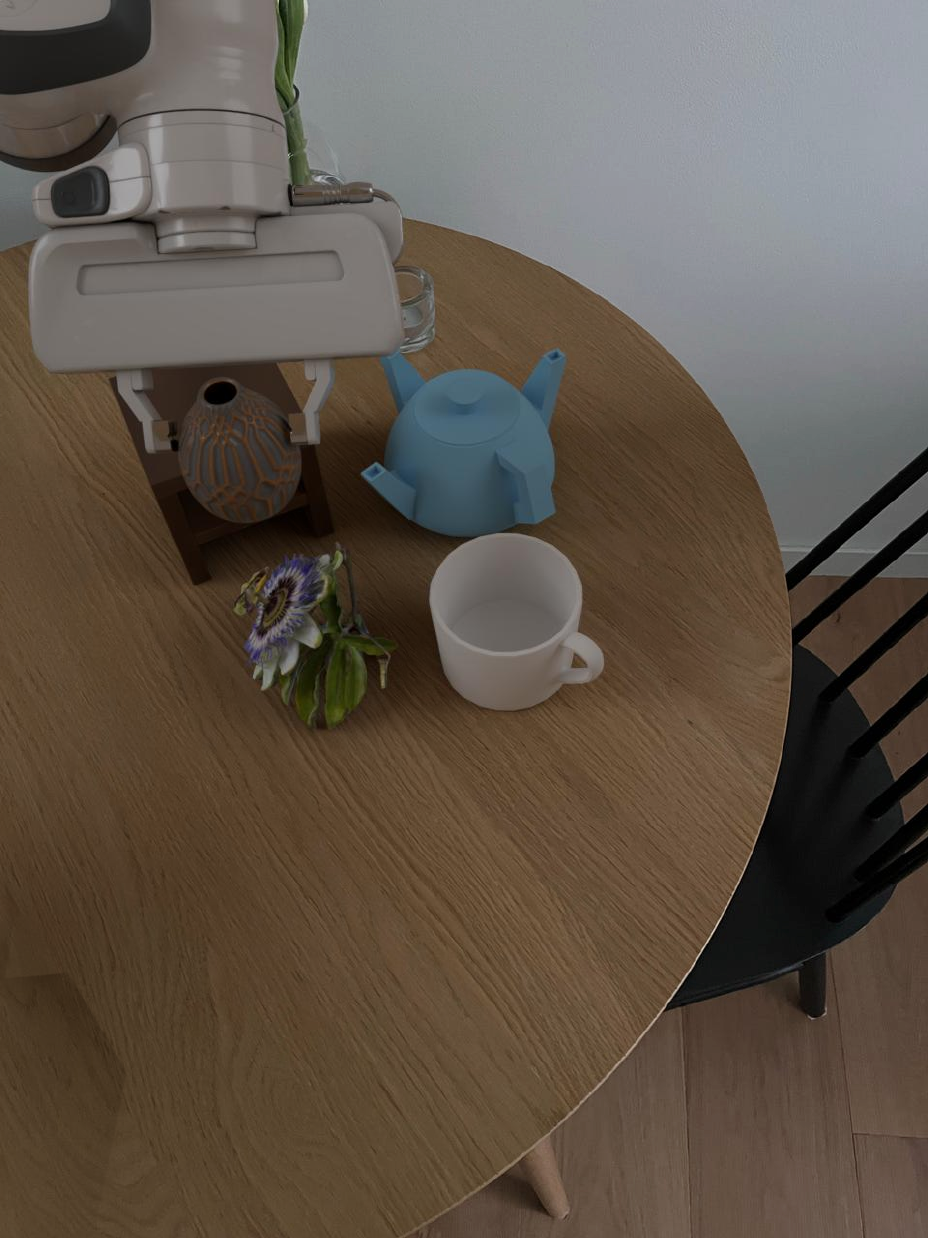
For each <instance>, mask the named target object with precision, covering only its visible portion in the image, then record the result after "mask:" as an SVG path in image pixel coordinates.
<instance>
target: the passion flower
mask: <svg viewBox="0 0 928 1238" xmlns="http://www.w3.org/2000/svg"><path fill="white" fill-rule="evenodd" d="M334 545H335V553H334V555H333V554H332V553H331V552H323V553H321V554H319V555H317V556H316V557H314V558H313V557H309V558H308V557H306V556H305V554H304V553H300V554H298V557H297V553H293V556H292V559H289V557H288V556H285V557H284V558H285V562H283V563H279V564H278V565H277V566H276V567H275V568H273V570H272V571H271V570H270V567H269V566H265V567H264V568H262V569H261V570H259V571H256V572H255V573H253V574H252V577H251V578H250V579H249V581H248V582H245V583H243V584H242V585H241V588H240V589H241V590H240V595H239V596H238V597H237V598H236V599H235V601H234V604H233V611H234V612H235V614H237V615H238V616H241V617H243V616H246V615H248V614H253V612H254V610H255V608H256V609H257V610H256V611H257V617H256V618H255V622H254V623H253V624H252V628H251V630H250V631H249V634H250V635H249V637H248V638H247V640H246V642H245V643H244V645H243V649H244V650H245V651H246V652H248V653H249V658H248V660H246V662H245V664H244V666H245V667H246V666H247V665H248V664H249V665H255V664H256V665H255V667H254V671H253V675H252V679H253V680H255V681H262V685H261V687H260V691H261V692H266V691H268V690H270V689H272V688H274V687H276V685H278V684H279V685H280V698H281V699H282V701H283V704H284V705H286V706H289V705H290V703H289V702H290V698H291V697H290V696H291V692H292V689H293V688H294V683H295V681H296V687H295V694H294V700H295V704H296V712H297V714H298V716H299V718H300V719H301V721H302V722H304V723H306V724H307V726H309V727H310V728H311V729H313V730H316V729H317V727H318V726H317V719H318V717H319V713H320V710H321V706H322V705H321V694H322V678H323V675H324V673H325V670H326V675H325V681H324V687H325V689H324V691H325V693H324V694H325V701H326V702H325V703H324V705H323V711H324V716H325V721H326V728H327V729H328V731H332V730H333V729H334V728H335V727H337V726H339V724H341V723H343V722H344V721H345V719H346V718H347V716H349V715H350V714H351V713H352V712H353V711H354V710H355V709H356V708H357V707H358V705H359V704H360V703H361V701H362V700H363V699H364V696H365V694H366V690H367V685H368V679H369V678H368V677H369V676H368V670H367V665H366V662H365V658H364V655H363V652H364V653H365V654H366V655H369V656H374V657H375V658H377V657H379V656H382V655H383V656H384V655H387V659H383V658H382V659H381V658H380V659H378V660H377V662H378V664H379V673H380V674H379V682H380V688H381V689H382V690H383V689H386V688H387V685H388V677H387V676H388V665H389V663H390V659H391V654H390V653H391V652H393V651H394V650H396V649H397V648H398V646H399V645H398V643H397V642H396V641H394V640H392V639H389V638H386V637H383V636H380V635H374V634H371V633H370V631H369V630H368V628H367V626H366V623H365V621H364V619H363V616H362V613H361V611H360V610H359V607H358V602H357V601H358V600H357V595H356V589H355V583H354V577H353V567H352V565H353V564H352V560H351V556H350V550H349V549H347V548H345V547H343V545H341V544H340V542H338V541H335V542H334ZM341 565H343V566H344V567H345V570H346V574H347V582H348V587H349V595H350V600H351V601H350V602H351V611H350V614H349V617H348V620H347V623H342V618H343V614H344V613H343V612H344V607H343V605H341V604H340V602H339V593H340V585H339V583H338V578H337V576H336V575H335V571H337V570H338V569H339V568H340V566H341ZM270 571H271V575H270ZM269 575H270V576H271V577H270V579H268V580H267V582H266V579H267V578H268V576H269ZM265 582H266V583H265ZM262 589H263V591H262ZM261 591H262V593H261ZM318 606H319V608H320V609H321V611H322V613H323V615H324V618H325V621H324V622H318V621H317V620H316V619H315V617H314V616H313V614H314V612H315V610H316V609H317V608H318ZM352 632H356V634H350V633H352ZM325 636H327V638H326V639H325V640H324V637H325ZM318 648H319V649H318ZM310 649H313V650H316V649H318V650H317V651H314V652H313V653H312V654H311V655H310V656H309V657H308V658H307V659H306V660H305V662H303V660H304V659H305V656H306V654H307V653H308V652H309V651H310ZM302 662H303V664H302ZM301 664H302V665H301ZM300 666H301V667H300ZM299 667H300V668H299Z"/></svg>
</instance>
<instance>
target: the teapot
mask: <svg viewBox="0 0 928 1238" xmlns="http://www.w3.org/2000/svg"><path fill="white" fill-rule="evenodd" d="M567 357H568V356H567V355H566V354H565V353H564V352H563V351H562V350H561V349H559V348H558V347H556V348H554V349H552V350H550V351H548V352H546V353H544V354H543V355H541V359H540V361H539V362H538V363H537V365H536V367H535V368H534V369H533V371H532V373H531V374H530V375H529V377H528V378H527V380H526V381H525V383H524V384H523V386H522V388H521V389H520V390H518V389H517V388H516V387H515V386H514V385H513V384H512V383H510V382H509V381H507V380H506V379H504V378H502V376H499V375H498V374H495V373H492V372H490V371H487V370H482V369H473V368H464V369H463V368H462V369H455V370H451V371H447V372H444V373H441V374H439V375H437V376H435V377H432V378H431V379H430V380H428V381H426V380H425V379H424V378H423V377H422V376H421V374H420V373H419V372H418V371H417V370H416V369H415V368H414V366H413V365H412V364H411V363H410V362H409V361H408V360H407V358H405V356H404V355H403V354H402V351H401V350H400V349H399V350H398V351H397V352H396V353H395V355H393V356H389V357H379V360H380V363H381V365H382V369H383V372H384V375H385V378H386V381H387V383H388V387H389V389H390V393H391V395H392V399H393V402H394V404H395V407H396V411H397V414H398V415H397V417H396V418H395V420H394V422H393V424H392V426H391V428H390V432H389V434H388V438H387V441H386V445H385V451H384V457H383V466H382V465H381V464H380V463H378V462H377V461H375V462H374V463H373V464H371V465H370V466H369V467H367V468H365V469H364V470H363V471H362V472H360V476H362V478H363V479H364V480H365V481H366V482H367V483H368V484H369V485H370V486H371V487H372V488H373V489H374V490H376V492H377V494H379V495H380V496H381V497H382V498H383V500H385V501H386V502H388V504H389V505H391V506H392V507H393V508H394V509H395V510H397V511H398V512H399V513H400V514H402V516H404V517H405V518H406V519H408V520H409V521H412V522H414V523H415V524H417V525H419V526H420V527H422V528H424V529H426V530H429V531H432V532H435V533H438V534H440V535H444V536H449V537H457V538H478V537H481V536H486V535H491V534H496V533H502V532H503V531H506V530H508V529H510V528H512V527H515V526H517V525H518V524H525V525H526V524H528V525H537V524H539V523H541V522H542V521H544V520H547V519H548V518H550V517H551V516H553V515H554V514H556V513H557V511H556V507H555V503H554V497H553V493H552V489H551V488H552V486H553V482H554V479H555V473H556V471H555V469H556V468H555V467H556V465H555V463H556V461H555V458H556V457H555V453H554V447H553V443H552V439H551V436H550V433H549V429H550V425H551V421H552V418H553V413H554V409H555V406H556V401H557V398H558V394H559V390H560V385H561V382H562V377H563V375H564V370H565V366H566V361H567Z"/></svg>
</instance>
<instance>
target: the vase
mask: <svg viewBox="0 0 928 1238" xmlns="http://www.w3.org/2000/svg"><path fill="white" fill-rule="evenodd" d="M291 431H292V429H291V428H290V426H289V420H288V418H287V417H286V416H285V414H284V413H283V412H282V411H281V409H280V408H279V407H278V406H277V405H276V404H275V403H273V402H272V401H271V400H269V399H268V398H266V397H265V396H263V395H261V394H259V393H257V392H254V391H252V390H249V389H247V388H245V387H243V386H242V385H241V384H240V383H239V382H238V381H237V380H235V379H233V378H230V377H217V378H213V379H211V380H209V381H207V382H206V383H204V384H203V385H202V386H201V388H200V389H199V392H198V396H197V400H196V402H195V403H194V405H193V406H192V407H191V409H190V410H189V412H188V413H187V415H186V417H185V418H184V421H183V423H182V425H181V428H180V432H179V438H178V459H179V465H180V469H181V472H182V475H183V477H184V480H185V482H186V484H187V486H188V488H189V490H190V491H191V493H192V494H193V496H194V497H195V498H196V499H197V501H198V502H199V503H200V504H201V505H202V506H203V507H204V508H205V509H207V510H208V511H209V512H211V513H212V514H214V515H215V516H217V517H219V518H221V519H224V520H227V521H231V522H236V523H253V522H258V521H261V522H263V521H262V520H264V521H266V520H265V519H267V518H269V517H271V516H273V515H275V514H276V513H278V512H279V511H280V510H282V509H283V508H284V507H285V506H286V505H287V504H288V502H289V501H290V500H291V499H292V497H293V495H294V494H295V491H296V489H297V486H298V484H299V480H300V475H301V462H302V461H301V452H300V447H299V445H291V441H290V433H291ZM269 519H270V518H269ZM267 520H268V519H267Z"/></svg>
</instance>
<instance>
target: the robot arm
mask: <svg viewBox="0 0 928 1238" xmlns="http://www.w3.org/2000/svg"><path fill="white" fill-rule="evenodd" d="M276 8H277V7H276V0H0V162H2V163H4V164H6V165H9V166H10V167H11V166H12V167H14V168H17V169H20V170H24V171H28V172H34V173H45V174H47V173H48V174H49V173H55V174H52V175H51V176H48V177H46V178H44V179H42V180H40V181H38V182H37V183H36V184H35V185H34V186H33V188H32V190H31V203H32V204H31V205H32V209H33V214H34V216H35V218H36V219H37V220H38V222H40V223H41V224H42V225H44V226H46V227H47V228H49V230H48V231H46V232H44V233H42V235H40V237H38V239H37V240H36V242H35V243H34V245H33V247H32V250H31V252H30V255H29V261H28V273H27V274H28V277H27V278H28V279H27V280H28V281H27V282H28V283H27V284H28V285H27V295H28V296H27V297H28V298H27V299H28V316H29V328H30V338H31V344H32V350H33V353H34V355H35V358H36V359H37V360H38V361H39V362H40V363H41V364H42V365H43V367H44V368H45V369H46V370H48V371H49V373H52V374H57V375H87V374H105V373H115V374H116V375H115V376H117V384H118V392H119V393H120V394H121V396H122V397H123V399H124V400H125V401H126V403H127V404H128V406H129V407H130V408H131V410H132V411H133V413H134V414H135V415H136V417H137V418H138V419H139V421H140V422H142V423H143V432H144V440H145V448H146V451H147V453H148V454H151V453H167V452H177V451H178V438H177V437H176V434H177V432H178V428H177V420H169V421H161V420H162V418H161V417H160V415H159V414H158V412H157V411H156V409H155V408H154V406H153V405H152V403H151V402H150V400H149V399H148V397H147V396H146V394H145V393H144V391H151V390H153V389H154V386H153V376H152V370H161V369H178V368H196V367H213V366H231V365H249V364H266V363H277V364H280V363H281V364H282V363H299V362H303V366H304V375H305V376H304V377H305V380H307V381H308V382H309V381H310V382H315V383H314V385H313V387H312V390H311V392H310V394H309V396H308V399H307V401H306V403H305V405H304V408H303V410H302V412H303V413H294V414H288V419H289V426H290V428H291V429H292V431H291V433H290V441H291V445H311V444H315V445H320V444H321V428H320V427H321V426H320V416H319V415H320V414H319V413H320V412H321V411H322V409H323V407H324V405H325V403H326V401H327V398H328V397H329V395H330V392H331V391H332V388H333V386H334V385H335V382H336V374H335V373H336V372H335V361H336V360H353V359H371V358H380V357H389V356H393V355H395V353H396V352H397V351H398V350H400V348H401V347H402V346H403V344H404V343H405V340H406V333H405V323H404V314H403V307H402V300H401V299H402V298H401V295H400V289H399V284H398V279H397V274H396V270H395V265H396V264H397V263H398V262H399V260H400V259H401V257H402V255H403V252H404V248H405V233H404V218H403V213H402V212H403V211H402V209H401V207H400V205H399V203H398V201H397V200H396V199H395V198H394V197H393V196H392V195H391V194H389V193H388V192H386V191H384V190H382V189H378V188H374V185H373V183H372V182H367V181H351V182H348V183H347V184H340V185H339V184H335V185H334V184H322V183H321V184H320V183H318V184H295V185H292V184H291V174H290V162H289V161H290V160H289V149H288V136H287V125H286V121H285V117H284V114H283V111H282V109H281V106H280V103H279V100H278V95H277V89H276V81H275V77H276V76H275V74H276V64H277V60H278V55H279V48H280V47H279V46H280V43H279V42H280V39H279V31H278V30H279V29H278V28H279V27H278V20H277V18H278V17H277V9H276ZM116 133H117V137H118V146H117V147H115V148H113V149H111V150H109V151H106V152H104V153H103V154H101V153H102V152H103V151H104V150H105V148H107V146H109V144H110V143H111V142H112V140H113V139H114V137H115V135H116ZM99 154H100V155H99ZM375 198H378V199H381V200H383V201H375Z"/></svg>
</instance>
